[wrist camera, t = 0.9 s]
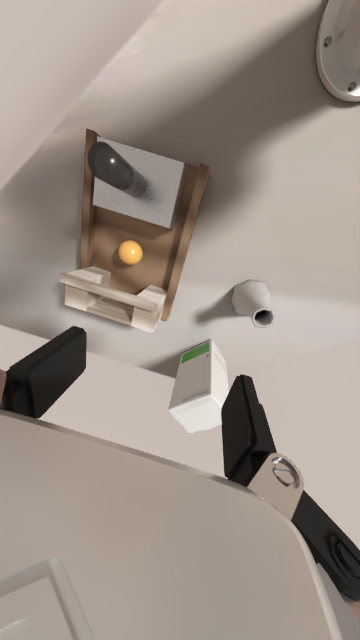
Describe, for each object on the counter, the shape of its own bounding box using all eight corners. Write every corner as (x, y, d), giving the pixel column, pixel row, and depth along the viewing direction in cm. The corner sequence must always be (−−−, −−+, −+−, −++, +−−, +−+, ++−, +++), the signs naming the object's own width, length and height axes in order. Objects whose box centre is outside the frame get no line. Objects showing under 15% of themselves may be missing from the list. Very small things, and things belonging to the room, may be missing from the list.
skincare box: (211, 338, 41) (213, 391, 26) (227, 360, 42) (235, 422, 28) (180, 354, 43) (165, 410, 29) (195, 374, 45) (189, 437, 31)
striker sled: (111, 149, 28) (42, 86, 17) (187, 172, 28) (171, 125, 16) (106, 208, 32) (45, 191, 20) (173, 229, 32) (152, 224, 20)
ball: (126, 237, 33) (115, 237, 30) (147, 243, 33) (139, 244, 30) (122, 259, 35) (112, 262, 31) (143, 266, 35) (135, 269, 31)
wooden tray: (99, 140, 30) (49, 96, 20) (209, 173, 29) (208, 144, 20) (89, 289, 40) (52, 304, 31) (169, 314, 40) (157, 338, 31)
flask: (231, 317, 38) (238, 342, 29) (229, 282, 35) (236, 297, 26) (270, 313, 37) (290, 338, 28) (270, 276, 34) (292, 290, 25)
